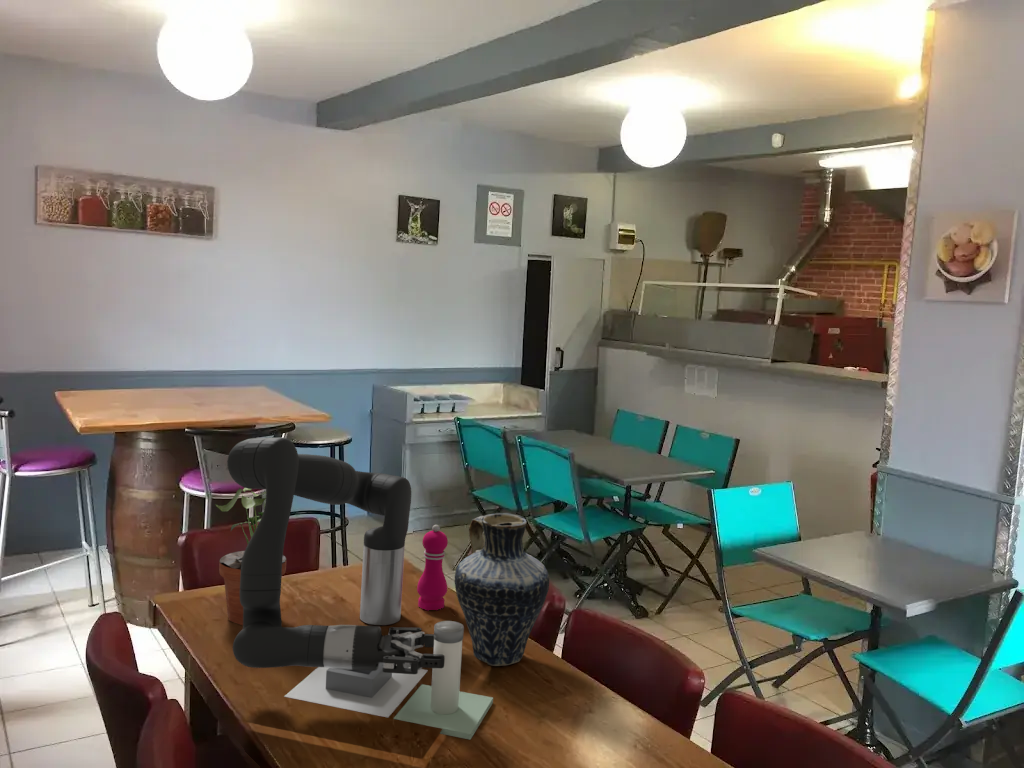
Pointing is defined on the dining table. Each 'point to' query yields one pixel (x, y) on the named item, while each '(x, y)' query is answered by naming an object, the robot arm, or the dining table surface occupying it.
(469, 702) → the mat
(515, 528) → the jug
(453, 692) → the cartridge
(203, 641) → the dining table surface
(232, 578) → the potted plant
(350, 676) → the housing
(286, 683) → the dining table surface
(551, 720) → the dining table surface
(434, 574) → the pepper mill
